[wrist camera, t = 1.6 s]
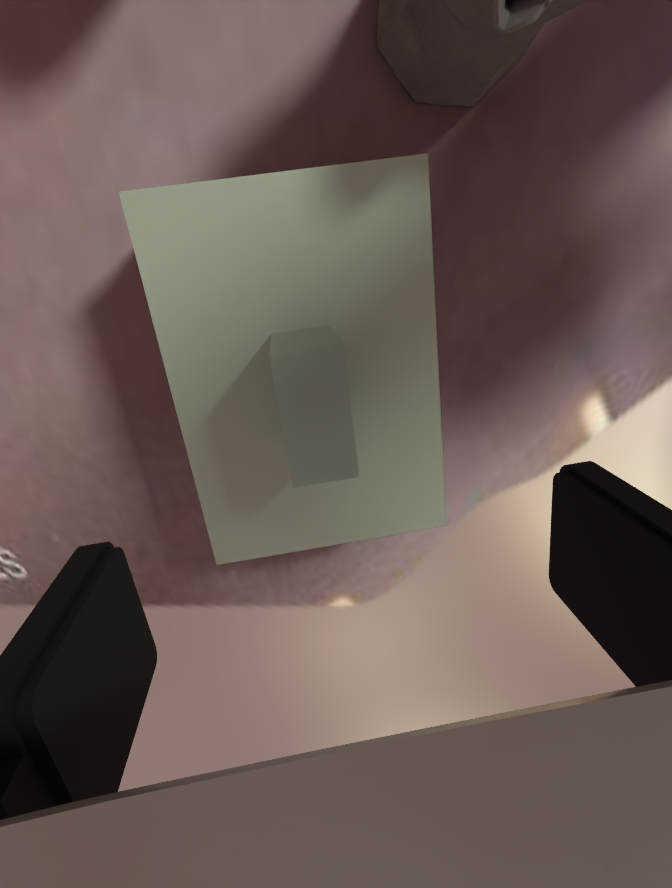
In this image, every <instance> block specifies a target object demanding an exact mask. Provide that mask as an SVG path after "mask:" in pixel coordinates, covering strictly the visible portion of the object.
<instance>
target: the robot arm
mask: <svg viewBox="0 0 672 888" xmlns="http://www.w3.org/2000/svg"><path fill="white" fill-rule="evenodd" d="M552 493H553V494H552V515H551V537H550V562H549V579H550V583H551V586H552V588H553V590H554V591H555V593H556V594H557V595H558V596H559V597H560V598H561V600H562V601H563V602H564V603H565V604H566V605H567V607H568V608H569V609H570V610H571V611H572V613H573V614H574V615H575V616H576V617H577V618H578V620H579V621H580V622H581V623H582V624H583V625H584V626H585V628H586V629H587V630H588V631H589V632H590V634H591V635H592V636H593V637H594V638H595V639H596V641H597V642H598V643H599V644H600V645H601V646H602V648H603V649H604V650H605V651H606V652H607V653H608V655H609V656H610V657H611V658H612V659H613V660H614V662H615V663H616V664H617V665H618V666H619V667H620V669H621V670H622V671H623V672H624V673H625V674H626V676H627V677H628V678H629V679H630V680H631V681H632V682H633V684H634V685H635V686H636V687H633V688H628V689H623V690H618V691H613V692H608V693H602V694H597V695H592V696H587V697H582V698H577V699H572V700H566V701H562V702H556V703H551V704H546V705H541V706H536V707H530V708H525V709H520V710H515V711H510V712H505V713H500V714H495V715H490V716H485V717H480V718H475V719H470V720H465V721H460V722H455V723H450V724H445V725H440V726H435V727H430V728H425V729H420V730H415V731H410V732H405V733H400V734H395V735H390V736H385V737H380V738H376V739H370V740H365V741H361V742H355V743H350V744H345V745H341V746H336V747H331V748H326V749H321V750H316V751H312V752H306V753H301V754H297V755H292V756H287V757H283V758H278V759H273V760H268V761H263V762H258V763H253V764H248V765H244V766H239V767H234V768H229V769H225V770H219V771H215V772H210V773H205V774H200V775H195V776H191V777H186V778H181V779H176V780H171V781H166V782H161V783H157V784H152V785H148V786H143V787H139V788H134V789H129V790H125V791H120V792H118V789H119V785H120V782H121V778H122V776H123V772H124V769H125V765H126V762H127V759H128V756H129V752H130V749H131V746H132V743H133V739H134V736H135V733H136V730H137V726H138V723H139V720H140V716H141V713H142V709H143V707H144V703H145V700H146V697H147V693H148V690H149V687H150V684H151V680H152V677H153V674H154V670H155V667H156V662H157V651H156V646H155V643H154V640H153V637H152V634H151V631H150V628H149V625H148V622H147V619H146V617H145V613H144V611H143V607H142V604H141V602H140V599H139V596H138V593H137V590H136V587H135V584H134V581H133V578H132V575H131V572H130V569H129V566H128V563H127V560H126V557H125V554H124V552H123V550H122V549H121V548H120V547H116V548H114V546H113V545H112V544H111V543H110V542H104V543H98V544H92V545H86V546H80V547H78V548H77V549H76V550H75V552H74V553H73V555H72V556H71V557H70V559H69V560H68V562H67V563H66V564H65V566H64V567H63V569H62V570H61V571H60V573H59V574H58V576H57V577H56V578H55V580H54V581H53V583H52V584H51V585H50V587H49V588H48V590H47V591H46V592H45V594H44V595H43V597H42V598H41V599H40V601H39V602H38V604H37V605H36V606H35V608H34V609H33V611H32V612H31V613H30V615H29V616H28V618H27V619H26V620H25V622H24V623H23V625H22V626H21V628H20V629H19V630H18V632H17V633H16V634H15V636H14V638H13V639H12V640H11V641H10V643H9V644H8V646H7V647H6V649H5V650H4V651H3V653H2V654H1V655H0V888H672V510H671V509H669V508H667V507H665V506H664V505H663V504H660V503H659V502H658V501H656V500H654V499H653V498H651V497H649V496H648V495H646V494H645V493H643V492H641V491H640V490H638V489H636V488H635V487H633V486H631V485H630V484H628V483H627V482H625V481H623V480H622V479H620V478H618V477H617V476H615V475H613V474H612V473H610V472H609V471H607V470H605V469H604V468H602V467H600V466H599V465H597V464H596V463H594V462H591V461H587V462H581V463H575V464H569V465H564V466H563V467H561V469H560V472H559V473H556V474H555V476H554V478H553V492H552Z"/></svg>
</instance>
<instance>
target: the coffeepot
mask: <svg viewBox="0 0 672 888" xmlns="http://www.w3.org/2000/svg"><path fill="white" fill-rule="evenodd" d="M584 1H586V0H379V3H378V30H377V47H378V49H379V50H380V52H381V53H382V55H383V57H384V58H385V60H386V61H387V63H388V64H389V66H390V68H391V70H392V72H393V73H394V75H395V77H396V78H397V79H398V80H399V82H400V83H401V84H402V85H403V86H404V87H405V89H407V91H408V92H409V94H410V95H411V97H412V98H413V99H414V101H415V102H421V103H431V104H435V105H440V106H467V107H473V106H474V105H475V104H476V103H477V102H478V101H479V100H480V99H481V98H482V97H483V96H484V95H485V94H486V93H487V92H488V91H489V90H490V89H491V88H492V87H493V86H494V85H495V84H496V83H497V82H498V81H499V80H500V79H501V78H502V77H503V76H504V75H505V74H506V73H507V72H508V71H509V70H510V69H511V68H512V67H513V66H514V65H515V64H516V63H517V62H518V61H519V60H520V59H521V57H522V56H523V54H524V53H525V51H526V50H527V48H528V47H529V45H530V44H531V42H532V41H533V39H534V38H535V36H536V35H537V34H538V32H539V31H540V29H541V28H542V26H543V25H544V23H546V22H548V21H550V20H552V19H553V18H555V17H557V16H559V15H561V14H562V13H564V12H566V11H568V10H570V9H571V8H573V7H575V6H577V5H579V4H580V3H582V2H584Z"/></svg>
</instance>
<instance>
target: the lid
mask: <svg viewBox="0 0 672 888" xmlns="http://www.w3.org/2000/svg"><path fill="white" fill-rule="evenodd" d="M119 195H120V199H121V203H122V206H123V210H124V214H125V218H126V222H127V226H128V229H129V233H130V237H131V241H132V245H133V248H134V252H135V256H136V260H137V264H138V268H139V271H140V275H141V279H142V283H143V287H144V290H145V294H146V298H147V302H148V306H149V310H150V313H151V317H152V321H153V325H154V329H155V332H156V336H157V340H158V344H159V348H160V352H161V355H162V359H163V363H164V367H165V371H166V374H167V378H168V382H169V386H170V390H171V393H172V397H173V401H174V405H175V409H176V413H177V416H178V420H179V424H180V428H181V432H182V435H183V439H184V443H185V447H186V451H187V455H188V458H189V462H190V466H191V470H192V474H193V477H194V481H195V485H196V489H197V493H198V497H199V500H200V504H201V508H202V512H203V516H204V519H205V523H206V527H207V531H208V535H209V539H210V542H211V546H212V550H213V554H214V558H215V561H216V565H221V564H227V563H233V562H238V561H244V560H250V559H256V558H262V557H268V556H273V555H279V554H285V553H291V552H297V551H302V550H308V549H314V548H320V547H326V546H331V545H337V544H343V543H349V542H355V541H360V540H366V539H372V538H378V537H384V536H389V535H395V534H401V533H407V532H413V531H418V530H424V529H430V528H436V527H442V526H446V512H445V492H444V471H443V451H442V430H441V410H440V389H439V369H438V348H437V328H436V307H435V287H434V266H433V246H432V225H431V205H430V184H429V164H428V153H425V154H417V155H409V156H401V157H393V158H385V159H377V160H369V161H361V162H353V163H345V164H337V165H329V166H321V167H313V168H305V169H297V170H289V171H281V172H273V173H265V174H257V175H249V176H241V177H234V178H226V179H218V180H210V181H202V182H194V183H186V184H178V185H170V186H162V187H154V188H146V189H138V190H130V191H122V192H119Z"/></svg>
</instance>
